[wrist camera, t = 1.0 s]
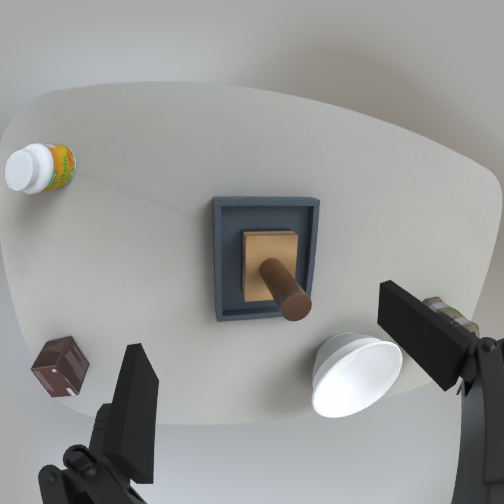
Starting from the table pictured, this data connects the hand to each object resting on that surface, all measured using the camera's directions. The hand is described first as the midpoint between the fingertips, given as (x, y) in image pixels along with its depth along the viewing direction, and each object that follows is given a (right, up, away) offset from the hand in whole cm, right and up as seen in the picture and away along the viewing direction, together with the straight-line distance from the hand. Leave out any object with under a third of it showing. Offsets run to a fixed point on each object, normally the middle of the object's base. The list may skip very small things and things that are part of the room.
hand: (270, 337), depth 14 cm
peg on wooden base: (+1, +3, +22) cm, 22 cm away
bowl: (+14, -13, +31) cm, 36 cm away
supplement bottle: (-25, +15, +13) cm, 32 cm away
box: (-30, -12, +21) cm, 39 cm away
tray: (+1, +4, +22) cm, 22 cm away
